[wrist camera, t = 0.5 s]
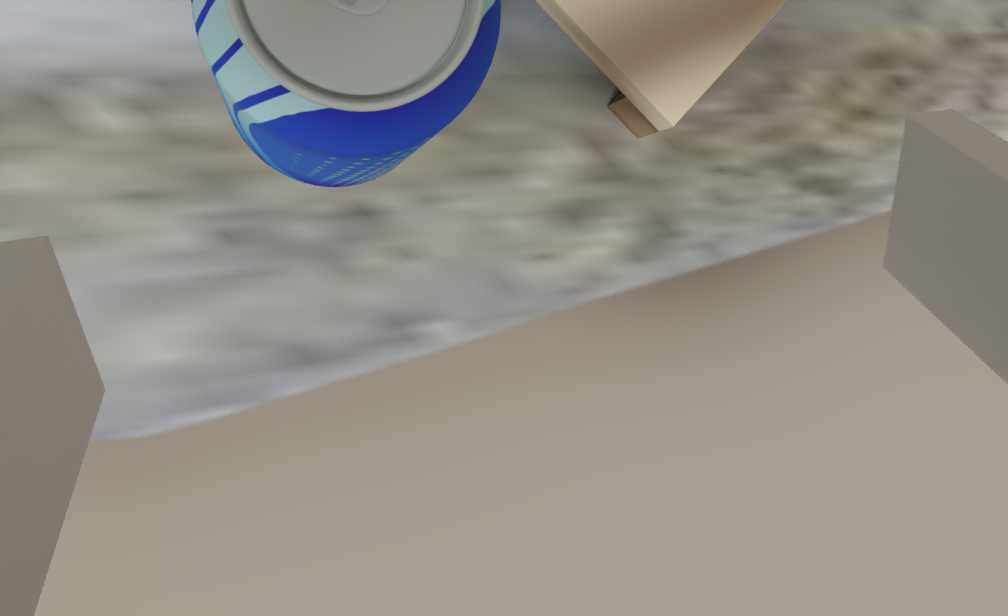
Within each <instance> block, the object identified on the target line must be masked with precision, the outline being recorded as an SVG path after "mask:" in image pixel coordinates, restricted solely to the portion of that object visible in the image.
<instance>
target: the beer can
mask: <svg viewBox="0 0 1008 616" xmlns="http://www.w3.org/2000/svg"><path fill="white" fill-rule="evenodd" d="M191 2H192V11H193V18H194V23H195V28H196V32H197V35H198V39H199V42H200V45H201V48H202V50H203V53H204V55H205V57H206V60H207V62H208V64H209V67H210V69H211V71H212V74H213V76H214V78H215V81H216V83H217V86H218V88H219V90H220V93H221V95H222V97H223V100H224V102H225V104H226V107H227V109H228V111H229V114H230V116H231V118H232V121H233V123H234V125H235V127H236V129H237V130H238V132H239V134H240V135H241V137H242V138H243V140H244V141H245V142H246V144H247V145H248V146H249V147H250V148H251V150H252V151H253V152H254V153H255V154H256V155H257V156H258V157H259V158H261V159H262V160H263V161H264V162H265V163H267V164H268V165H269V166H271V167H272V168H274V169H275V170H277V171H279V172H280V173H282V174H284V175H286V176H288V177H290V178H293V179H295V180H298V181H301V182H304V183H308V184H312V185H317V186H325V187H343V186H351V185H357V184H361V183H365V182H368V181H370V180H373V179H376V178H378V177H380V176H382V175H384V174H386V173H387V172H389V171H390V170H392V169H394V168H395V167H396V166H397V165H399V164H400V163H401V162H403V161H404V160H405V159H406V158H407V157H409V156H410V155H411V154H412V153H414V152H415V151H416V150H417V149H418V148H420V147H421V146H422V145H423V144H425V143H426V142H427V141H428V140H429V139H431V138H432V137H433V136H434V135H436V134H437V133H438V132H439V131H441V130H442V129H443V128H444V127H445V126H447V125H448V124H449V123H450V122H451V121H452V120H454V119H455V118H456V117H457V116H458V115H459V114H460V113H461V112H462V111H463V109H464V108H465V107H466V106H467V105H468V103H469V102H470V101H471V100H472V98H473V97H474V95H475V94H476V92H477V91H478V89H479V87H480V86H481V84H482V82H483V80H484V78H485V76H486V74H487V72H488V69H489V67H490V65H491V62H492V59H493V56H494V53H495V49H496V45H497V40H498V36H499V28H500V13H501V3H500V0H191Z"/></svg>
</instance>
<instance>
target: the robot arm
mask: <svg viewBox="0 0 1008 616" xmlns="http://www.w3.org/2000/svg"><path fill="white" fill-rule="evenodd" d="M883 268H884V269H885V270H886V271H888V272H889V273H890V274H891V275H892V276H893V277H894V278H895V279H896V280H897V281H898V282H899V283H900V284H902V285H903V287H905V288H906V289H907V290H908V291H909V292H910V293H911V294H912V295H913V296H914V297H915V298H916V299H918V301H920V302H921V303H922V304H923V305H924V306H925V307H926V308H927V309H928V310H929V311H930V312H931V313H932V314H933V315H935V316H936V317H937V318H938V319H939V320H940V321H941V322H942V323H943V324H944V325H945V326H946V327H947V328H948V329H949V330H951V331H952V332H953V333H954V334H955V335H956V336H957V337H958V338H959V339H960V340H961V341H962V342H963V343H964V344H965V345H967V346H968V347H969V348H970V349H971V350H972V351H973V352H974V353H975V354H976V355H977V356H978V357H980V359H981V360H983V361H984V362H985V363H986V364H987V365H988V366H989V367H990V368H991V369H992V370H993V371H994V372H995V373H996V374H998V375H999V376H1000V377H1001V378H1002V379H1003V380H1004V381H1005V382H1006V383H1007V384H1008V142H1007V141H1005V140H1003V139H1002V138H1000V137H998V136H996V135H995V134H993V133H991V132H990V131H988V130H986V129H985V128H983V127H981V126H979V125H978V124H976V123H974V122H973V121H971V120H969V119H968V118H966V117H964V116H962V115H961V114H959V113H957V112H956V111H954V110H952V109H950V110H943V111H936V112H928V113H921V114H914V115H907V116H906V123H905V129H904V135H903V142H902V148H901V155H900V161H899V167H898V174H897V180H896V186H895V193H894V199H893V206H892V212H891V218H890V225H889V231H888V237H887V244H886V250H885V257H884V263H883ZM104 392H105V388H104V385H103V382H102V380H101V377H100V374H99V372H98V369H97V366H96V364H95V361H94V358H93V355H92V353H91V350H90V347H89V345H88V342H87V339H86V337H85V334H84V331H83V328H82V326H81V323H80V320H79V318H78V315H77V312H76V310H75V307H74V304H73V301H72V299H71V296H70V293H69V291H68V288H67V285H66V283H65V280H64V277H63V274H62V272H61V269H60V266H59V264H58V261H57V258H56V256H55V253H54V250H53V247H52V245H51V242H50V239H49V237H48V236H42V237H35V238H28V239H20V240H13V241H6V242H0V616H34V613H35V610H36V607H37V603H38V600H39V597H40V594H41V591H42V588H43V585H44V581H45V578H46V575H47V572H48V569H49V566H50V562H51V559H52V556H53V553H54V549H55V547H56V543H57V540H58V537H59V534H60V531H61V528H62V524H63V521H64V518H65V515H66V512H67V509H68V506H69V502H70V499H71V496H72V493H73V489H74V487H75V483H76V480H77V477H78V474H79V471H80V468H81V464H82V461H83V458H84V455H85V452H86V449H87V445H88V442H89V439H90V436H91V433H92V430H93V426H94V423H95V420H96V417H97V414H98V411H99V407H100V404H101V401H102V398H103V395H104Z"/></svg>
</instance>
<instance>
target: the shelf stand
mask: <svg viewBox="0 0 1008 616" xmlns="http://www.w3.org/2000/svg"><path fill="white" fill-rule="evenodd" d="M535 1H536V2H537V3H538V4H539V5H540V6H541V7H542V8H543V9H544V10H545V11H546V12H547V14H548V15H549V16H550V17H551V18H552V19H553V20H554V21H555V22H556V23H557V24H558V25H559V26H560V27H561V28H562V29H563V30H564V31H565V33H566V34H567V35H568V36H569V37H570V38H571V39H572V40H573V41H574V42H575V43H576V44H577V45H578V46H579V47H580V48H581V49H582V51H583V52H584V53H585V54H586V55H587V56H588V57H589V58H590V59H591V60H592V61H593V62H594V63H595V64H596V65H597V66H598V67H599V68H600V70H601V71H602V72H603V73H604V74H605V75H606V76H607V77H608V78H609V79H610V80H611V81H612V82H613V83H614V84H615V85H616V86H617V87H618V89H619V90H620V91H621V92H620V93H619V94H618V95H617V96H616V97H615V98H614V99H613V100H612V101H611V102H610V104H609V105H608V106H607V107H608V108H609V109H610V110H611V111H612V112H613V113H614V114H615V115H616V116H617V117H618V118H619V119H620V120H621V121H622V122H623V123H624V125H625V126H626V127H627V128H628V129H629V130H630V131H631V132H632V133H633V134H634V135H635V136H636V137H637V138H641V137H644V136H647V135H650V134H653V133H656V132H659V131H662V130H665V129H668V128H671V127H673V126H674V125H675V124H676V123H677V122H678V121H679V120H680V119H681V118H682V117H683V115H684V114H685V113H686V112H687V111H688V110H689V109H690V108H691V107H692V106H693V105H694V103H695V102H696V101H697V100H698V99H699V98H700V97H701V96H702V95H703V94H704V92H705V91H706V90H707V89H708V88H709V87H710V86H711V85H712V84H713V83H714V81H715V80H716V79H717V78H718V77H719V76H720V75H721V74H722V73H723V72H724V71H725V69H726V68H727V67H728V66H729V65H730V64H731V63H732V62H733V61H734V60H735V58H736V57H737V56H738V55H739V54H740V53H741V52H742V51H743V50H744V49H745V48H746V46H747V45H748V44H749V43H750V42H751V41H752V40H753V39H754V38H755V37H756V35H757V34H758V33H759V32H760V31H761V30H762V29H763V28H764V27H765V26H766V25H767V23H768V22H769V21H770V20H771V19H772V18H773V17H774V16H775V15H776V14H777V12H778V11H779V10H780V9H781V8H782V7H783V6H784V5H785V4H786V3H787V2H788V0H535Z"/></svg>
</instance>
